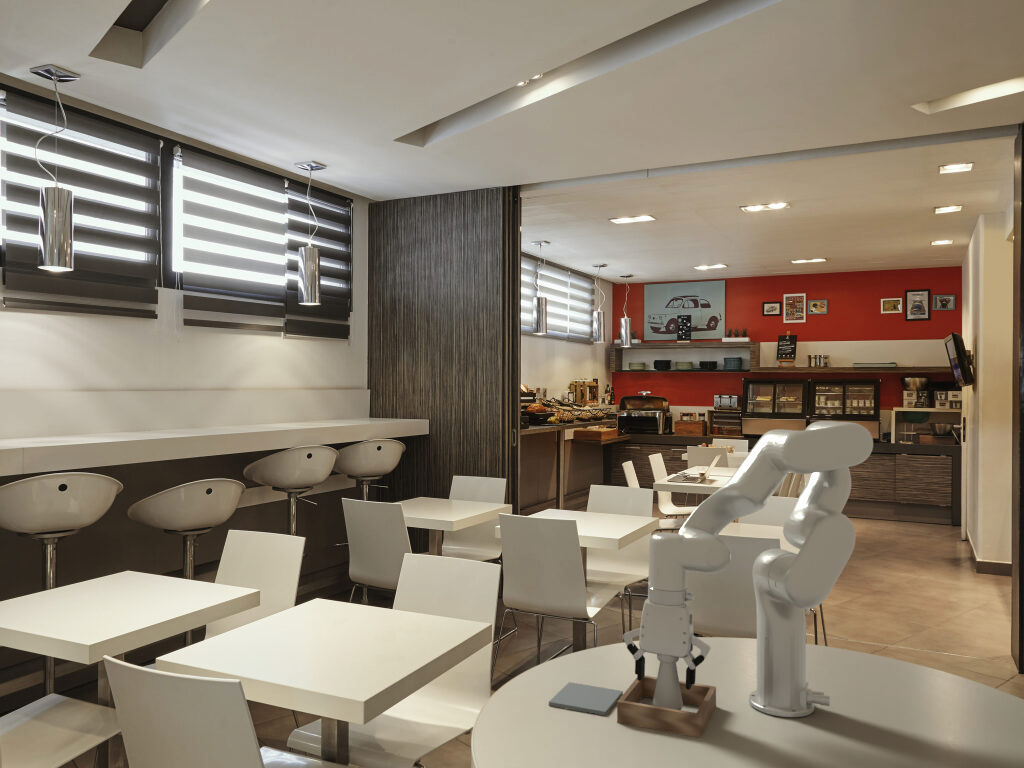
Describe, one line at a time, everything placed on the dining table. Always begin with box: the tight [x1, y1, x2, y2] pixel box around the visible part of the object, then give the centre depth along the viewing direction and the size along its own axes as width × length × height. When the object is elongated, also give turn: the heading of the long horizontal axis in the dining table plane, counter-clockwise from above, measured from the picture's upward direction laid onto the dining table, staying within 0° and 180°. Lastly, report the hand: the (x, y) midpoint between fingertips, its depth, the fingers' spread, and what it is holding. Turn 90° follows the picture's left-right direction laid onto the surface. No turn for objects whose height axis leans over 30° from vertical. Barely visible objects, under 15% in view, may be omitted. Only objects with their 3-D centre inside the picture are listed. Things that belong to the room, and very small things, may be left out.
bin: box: [616, 675, 717, 739], centre depth 154 cm, size 16×16×4 cm
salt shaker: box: [652, 654, 684, 710], centre depth 155 cm, size 6×6×13 cm
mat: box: [548, 681, 624, 717], centre depth 161 cm, size 12×12×1 cm
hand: (664, 682), depth 154 cm, fingers open, 9 cm apart
